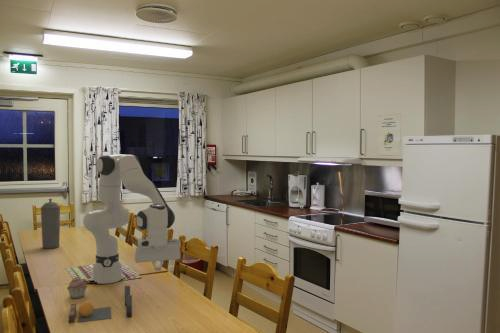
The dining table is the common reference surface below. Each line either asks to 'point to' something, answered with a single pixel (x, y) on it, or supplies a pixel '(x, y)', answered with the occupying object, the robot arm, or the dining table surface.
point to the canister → (50, 224)
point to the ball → (85, 309)
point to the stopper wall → (72, 313)
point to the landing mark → (97, 315)
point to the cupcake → (77, 287)
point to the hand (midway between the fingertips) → (157, 270)
